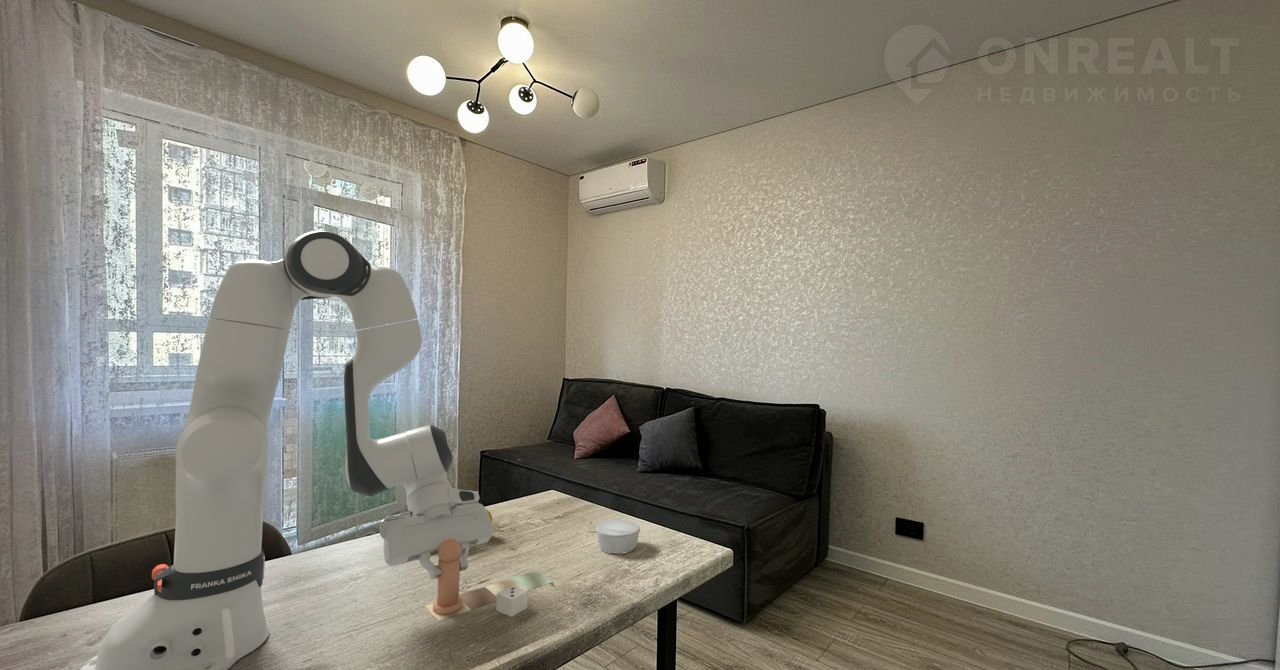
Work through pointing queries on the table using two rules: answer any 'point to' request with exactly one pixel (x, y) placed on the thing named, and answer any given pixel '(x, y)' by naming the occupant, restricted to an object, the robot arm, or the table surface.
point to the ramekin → (617, 535)
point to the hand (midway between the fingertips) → (450, 573)
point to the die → (512, 600)
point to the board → (494, 592)
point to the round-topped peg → (448, 578)
